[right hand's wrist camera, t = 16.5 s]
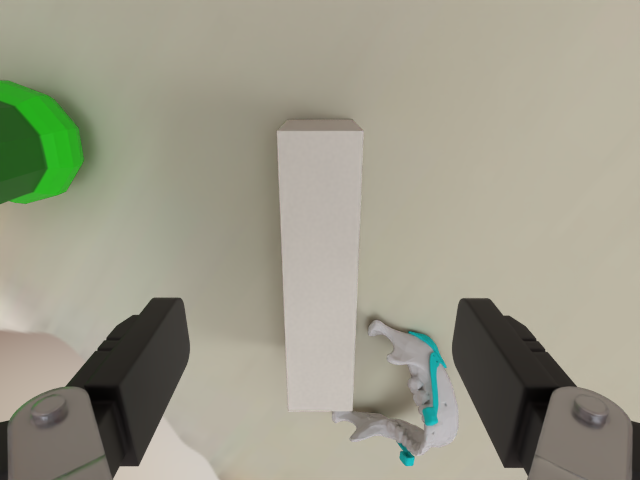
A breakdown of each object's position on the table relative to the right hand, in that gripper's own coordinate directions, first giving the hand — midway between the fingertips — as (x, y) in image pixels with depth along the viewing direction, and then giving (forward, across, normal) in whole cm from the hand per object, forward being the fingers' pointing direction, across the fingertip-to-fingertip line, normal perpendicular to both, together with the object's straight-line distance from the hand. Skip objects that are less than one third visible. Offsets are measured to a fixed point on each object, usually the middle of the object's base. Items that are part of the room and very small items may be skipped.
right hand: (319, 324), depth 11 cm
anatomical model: (+27, -9, +25) cm, 38 cm away
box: (+27, 0, +9) cm, 29 cm away
